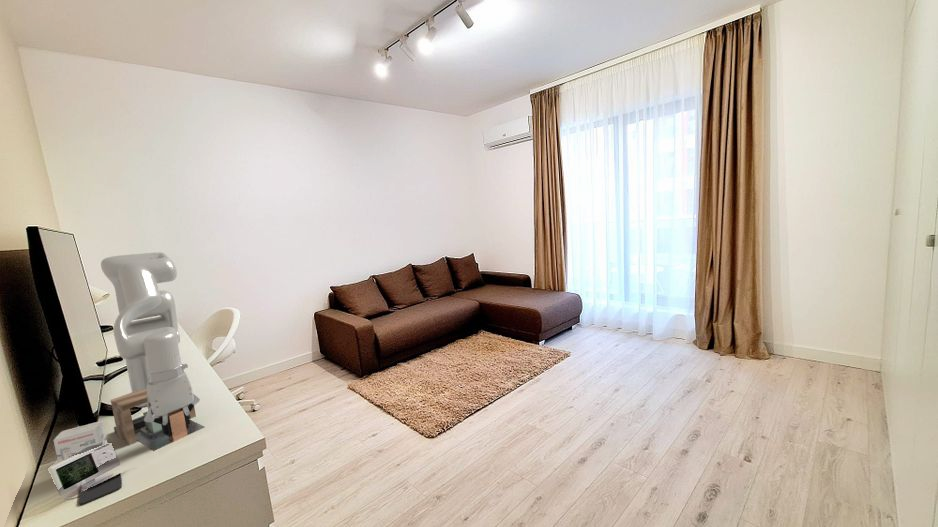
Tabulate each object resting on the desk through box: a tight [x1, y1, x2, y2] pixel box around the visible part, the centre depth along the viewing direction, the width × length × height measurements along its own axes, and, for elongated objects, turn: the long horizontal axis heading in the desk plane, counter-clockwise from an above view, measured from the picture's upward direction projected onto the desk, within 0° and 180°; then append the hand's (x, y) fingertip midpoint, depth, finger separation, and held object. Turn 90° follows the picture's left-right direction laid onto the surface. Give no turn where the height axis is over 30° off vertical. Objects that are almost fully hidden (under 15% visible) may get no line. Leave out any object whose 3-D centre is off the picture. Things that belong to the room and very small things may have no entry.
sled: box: [135, 409, 205, 452], centre depth 112 cm, size 18×13×9 cm
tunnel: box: [110, 388, 197, 446], centre depth 116 cm, size 10×17×14 cm, turn 149°
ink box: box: [53, 421, 108, 463], centre depth 98 cm, size 9×5×12 cm, turn 122°
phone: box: [78, 472, 123, 506], centre depth 92 cm, size 7×1×15 cm
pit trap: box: [113, 415, 146, 435], centre depth 121 cm, size 4×16×3 cm, turn 149°
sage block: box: [142, 411, 162, 433], centre depth 115 cm, size 6×6×6 cm
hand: (177, 430), depth 109 cm, fingers closed on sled, 3 cm apart
